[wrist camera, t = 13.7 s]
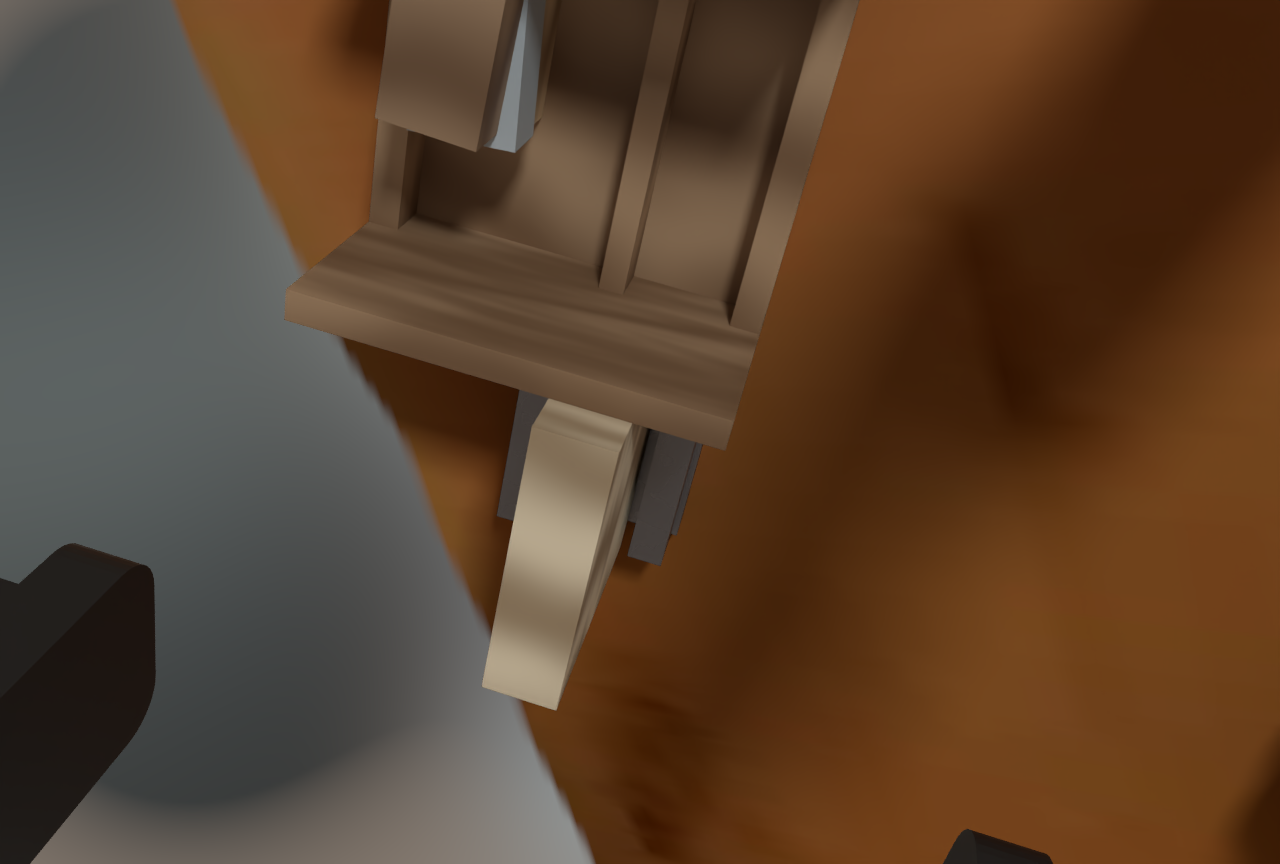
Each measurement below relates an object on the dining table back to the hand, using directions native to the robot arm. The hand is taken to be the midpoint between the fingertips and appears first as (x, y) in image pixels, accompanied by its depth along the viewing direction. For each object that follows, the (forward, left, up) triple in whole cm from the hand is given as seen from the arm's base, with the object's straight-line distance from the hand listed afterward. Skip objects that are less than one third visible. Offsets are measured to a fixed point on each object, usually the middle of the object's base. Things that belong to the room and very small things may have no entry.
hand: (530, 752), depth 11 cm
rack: (+4, -7, -36) cm, 37 cm away
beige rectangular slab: (+18, -4, -35) cm, 40 cm away
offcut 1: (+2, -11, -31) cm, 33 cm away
